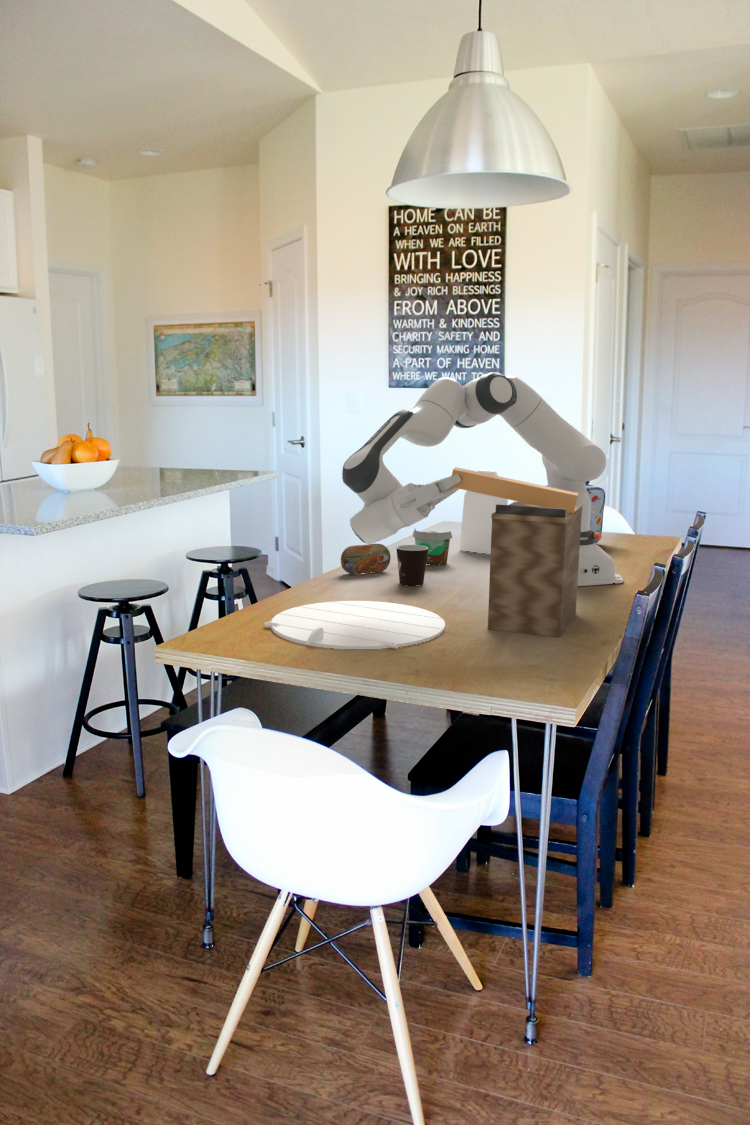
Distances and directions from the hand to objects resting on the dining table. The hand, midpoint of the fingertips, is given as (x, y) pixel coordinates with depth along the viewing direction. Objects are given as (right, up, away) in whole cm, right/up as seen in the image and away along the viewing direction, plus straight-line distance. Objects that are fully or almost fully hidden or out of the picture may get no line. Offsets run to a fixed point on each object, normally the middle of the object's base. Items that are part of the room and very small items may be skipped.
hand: (463, 476), depth 206 cm
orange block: (+11, -5, -1) cm, 12 cm away
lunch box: (+45, -14, +104) cm, 114 cm away
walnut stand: (+16, -33, +5) cm, 37 cm away
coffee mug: (-10, -25, +44) cm, 51 cm away
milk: (+16, -16, +93) cm, 96 cm away
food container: (-4, -20, +69) cm, 72 cm away
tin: (-23, -23, +56) cm, 64 cm away
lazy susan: (-24, -34, 0) cm, 42 cm away
